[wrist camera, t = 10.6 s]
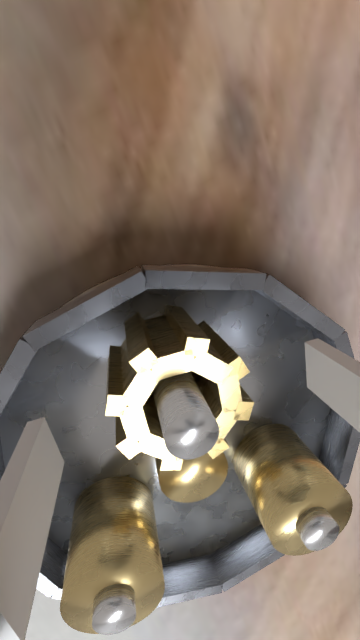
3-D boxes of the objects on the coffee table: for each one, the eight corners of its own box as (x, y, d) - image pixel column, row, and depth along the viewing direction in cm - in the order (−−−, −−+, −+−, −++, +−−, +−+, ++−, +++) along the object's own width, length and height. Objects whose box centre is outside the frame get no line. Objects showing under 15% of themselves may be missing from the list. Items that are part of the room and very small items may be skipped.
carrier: (116, 177, 17) (118, 123, 8) (381, 366, 26) (517, 435, 17) (-71, 512, 21) (-205, 717, 12) (217, 577, 30) (260, 722, 21)
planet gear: (146, 285, 18) (160, 310, 13) (234, 338, 21) (279, 379, 15) (88, 379, 19) (78, 441, 14) (179, 418, 22) (201, 485, 16)
